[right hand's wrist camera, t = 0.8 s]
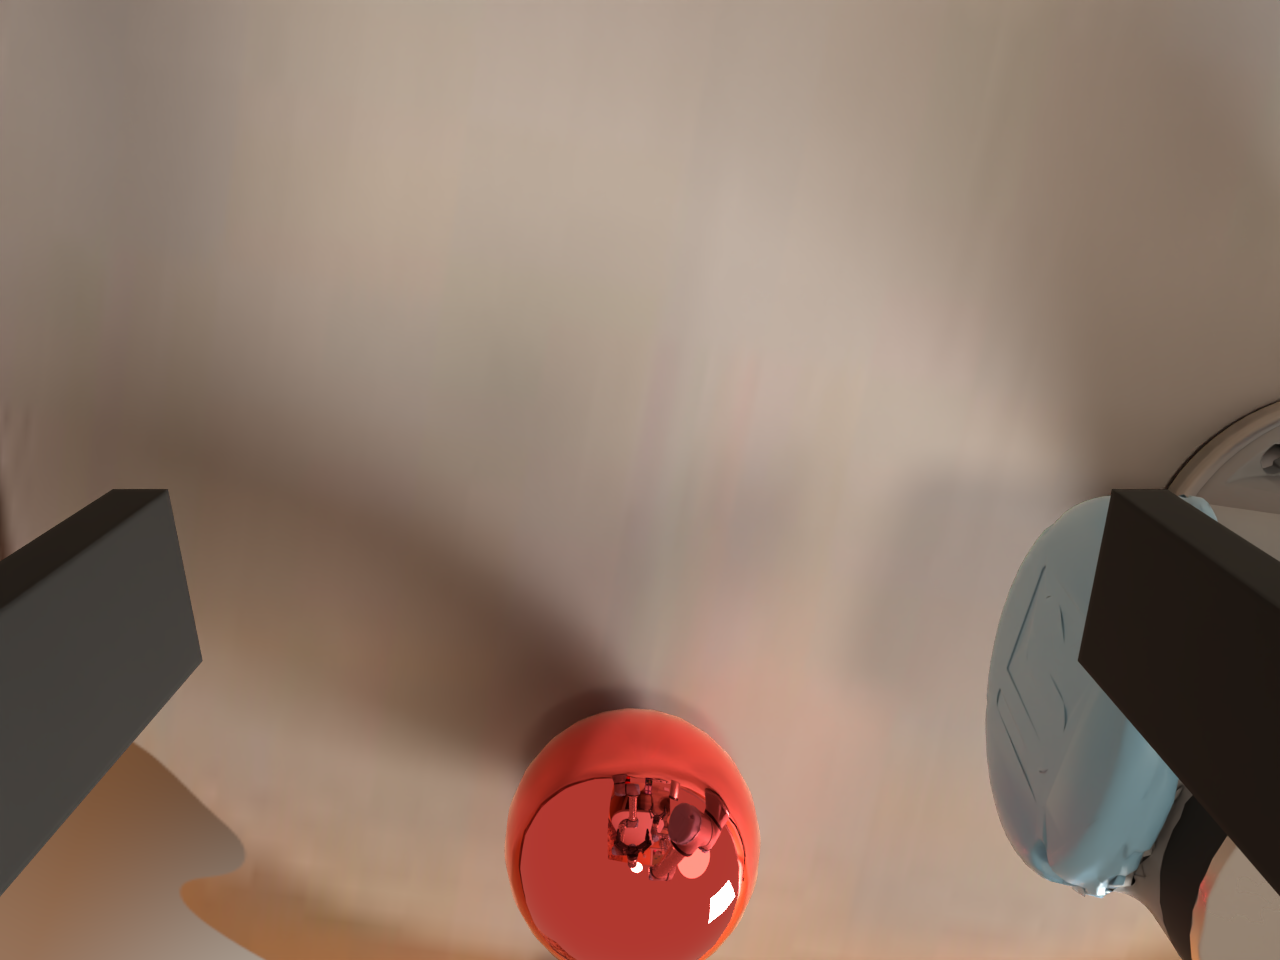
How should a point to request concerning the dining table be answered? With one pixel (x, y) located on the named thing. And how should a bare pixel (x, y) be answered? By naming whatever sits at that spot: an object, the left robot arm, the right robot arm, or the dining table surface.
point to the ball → (632, 840)
